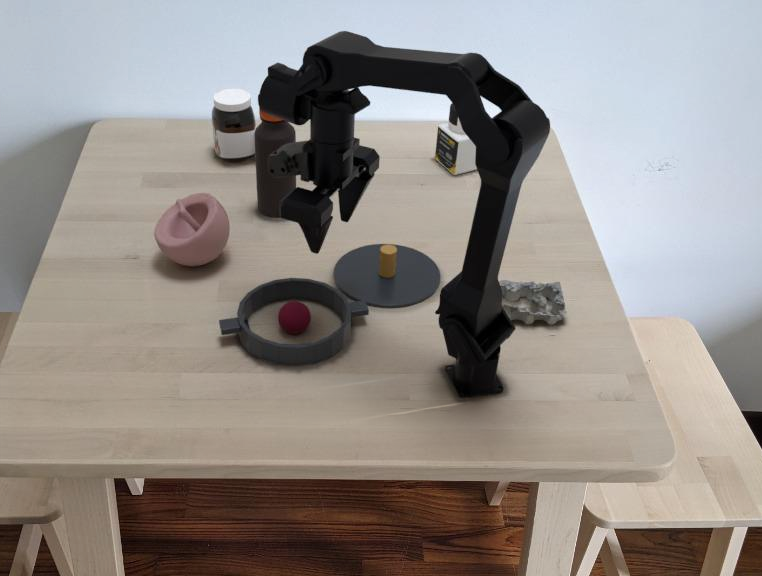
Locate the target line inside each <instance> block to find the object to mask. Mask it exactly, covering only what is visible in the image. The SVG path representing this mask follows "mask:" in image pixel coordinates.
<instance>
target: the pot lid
mask: <svg viewBox="0 0 762 576" xmlns="http://www.w3.org/2000/svg"><path fill="white" fill-rule="evenodd" d="M333 279H334V283H335V284H336V286H337V289H338V290H339V291H340V292H341V293H342V294H343V295H344V296H346V297H348V298H350V299H351V300H354V302H356V301H365V302H366V305H367V306H371V307H377V308H384V309H385V308H386V309H390V308H391V309H393V308H395V309H396V308H404V307H410V306H414V305H417V304H419V303H422V302H423V301H425V300H427V299H429V298H430V297H432V295H434V294H435V293H436V292H437V290H438V288H439V286H440V284H441V271H440V269H439V267H438V265H437V264H436V262H435V261H434V260H433V258H431V257H429V256H428V255H427V254H425V253H423V252H421V251H419V250H417V249H415V248H412V247H409V246H406V245H401V244H400V245H399V244H394V243H374V244H367V245H363V246H360V247H357V248H353V249H352V250H350V251H348V252H346V253H345V254H343V255H342V256H341V257H340V258H339V259H338V261H336V263H335V265H334V269H333Z"/></svg>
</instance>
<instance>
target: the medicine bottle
mask: <svg viewBox="0 0 762 576" xmlns="http://www.w3.org/2000/svg"><path fill="white" fill-rule="evenodd" d="M448 113H449V114H448V121H447V122H445V123H439V124H438V125H437V133H436V145H435V151H434V152H435V153H434V160H436V161H437V162H438V163H439V164H440V165H441V166H442V167H444V168H445V169H446V170H448V171H449V173H451V174H452V175H453V176H457V175H461V174H464V173H468V172H474V171H478V170H477V168H476V165H475V155H476V146H475V145H474V143H473V142H472V141H471V140H470V139H469V137H468V136H467V135H466V134H465V133H464V131H463V129H462V126H461V124H460V121H459V118H458V115H457V112H456V109H455V106H454V104H453V103H452V102H451V104H450V105H449V112H448Z"/></svg>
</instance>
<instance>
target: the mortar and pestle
mask: <svg viewBox="0 0 762 576" xmlns="http://www.w3.org/2000/svg"><path fill="white" fill-rule="evenodd" d="M230 225H231V224H230V219H229V216H228V213H227V211H226V209H225V207H224V206H223V205H222V203H221V201H219V200H218V199H217V198H216V197H215V196H213V195H212V194H210V193H207V192H197V193H193V194H190V195H188V196H185V197H183V198H181V199H180V198H178V199H175V203H174V204H173V205H170V207H169V208H167V209H166V210H165V211H164V213H163V214H162V215H161V217H160V218H159V219H158V221H157V223H156V225H155V228H154V233H153V236H154V239H155V242H156V244H157V247H158V248H159V250H160V251H161V252H162V254H164V256H166V257H167V258H168V259H170V260H171V261H172V262H174V263H176V264H179V265H181V266H185V267H186V266H187V267H199V266H202V265H206V264H208V263H211V262H212V261H214V260H215V259H217V258H218V256H220V255H221V254H222V252H223V251H224V249H225V248H226V246H227V244H228V241H229V237H230V232H231V231H230V230H231V229H230V228H231V226H230Z"/></svg>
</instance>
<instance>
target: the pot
mask: <svg viewBox="0 0 762 576" xmlns="http://www.w3.org/2000/svg"><path fill="white" fill-rule="evenodd" d="M289 299H290V300H291V299H297V300H298V299H299V300H309V301H314V302H317V303H321V304H323V305H325V306H327V307H329V308H330V309H332V310H334V311H335V312H336V313H337V314H338V315H339V316H340V317H341V318H342V321H343V322H342V323H341V326H340V327H339V328H338V329H336V330H335V331H334V332H332V333H331V334H330V335H328V336H326V337H324V338H321V339H318V340H315V341H310V342H304V343H283V342H282V343H281V342H276V341H274V340H270V339H267V338H264V337H262V336H260V335H258V334H257V333H255V332H254V331H252V329H251V327H250V323H249V317H250V316H251V314H253V312H255V311H257V310H258V309H259V308H262V307H263V306H265V305H268V304H270V303H274V302H276V301H282V300H289ZM369 314H370V309H369V307H368V305H366V302H365V301H350V302H349V300H348V298H347V296H346V295H345V294H344V293H343V292H342V291H341V290H340V289H339V288H336V287H334V286H331V285H330V284H328V283H326V282H323V281H319V280H314V279H312V278H311V279H310V278H304V277H287V278H286V277H285V278H279V279H274V280H271V281H268V282H264V283H262V284H259V285H258V286H256V287H254V288H252V289H251V290H250V291H248V292H247V293H246V294H245V295H244V297H243V298H242V299H241V300H240V301H239V305H238V308H237V311H236V317H231V318H224V319H223V318H222V319H219V320H218V324H219V325H218V326H219V329H220V333H221V334H220V335H221V336H225V335H234V334H238V336H239V340H240V344H241V346H243V347H244V349H245V350H246V352H248V353H249V354H250V355H252V356H253V357H254V358H256V359H260V360H262V361H265V362H269V363H272V364H276V365H280V366H294V367H296V366H297V367H298V366H306V365H312V364H313V365H314V364H317V363H320V362H322V361H326V360H328V359H330V358H332V357H334V356H335V355H336V354H338V353H339V352H340V351H342V350H343V349H344V348H345V346H346V344H347V343H348V342H349V340H350V339H351V330H352V329H351V328H352V318H356V317H363V316H369Z"/></svg>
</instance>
